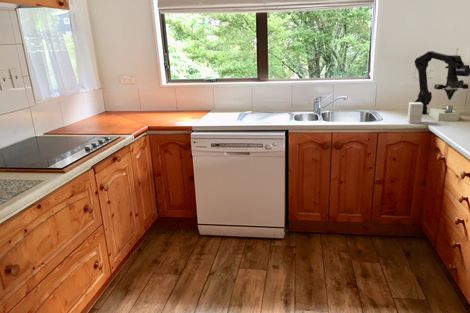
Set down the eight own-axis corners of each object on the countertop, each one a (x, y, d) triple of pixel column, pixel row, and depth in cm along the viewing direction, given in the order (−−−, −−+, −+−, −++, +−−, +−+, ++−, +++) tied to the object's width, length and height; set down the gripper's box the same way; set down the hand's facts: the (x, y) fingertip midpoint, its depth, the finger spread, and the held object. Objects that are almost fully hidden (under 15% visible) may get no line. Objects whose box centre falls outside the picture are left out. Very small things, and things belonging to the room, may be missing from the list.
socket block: (438, 120, 238) (439, 113, 237) (428, 114, 257) (429, 107, 256) (458, 120, 236) (459, 113, 235) (447, 114, 255) (448, 107, 253)
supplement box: (418, 121, 239) (421, 102, 235) (421, 123, 232) (423, 104, 229) (406, 121, 241) (408, 102, 237) (408, 123, 234) (410, 103, 231)
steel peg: (446, 113, 238) (447, 106, 237) (444, 112, 242) (445, 105, 240) (452, 113, 237) (454, 106, 236) (450, 112, 241) (451, 105, 240)
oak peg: (439, 115, 250) (440, 108, 249) (437, 114, 254) (438, 107, 253) (445, 115, 250) (446, 108, 248) (443, 114, 253) (444, 107, 252)
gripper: (441, 77, 229) (438, 102, 234) (473, 76, 226) (470, 101, 231) (435, 75, 240) (432, 99, 244) (466, 74, 237) (462, 98, 241)
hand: (449, 99), depth 240 cm, fingers closed
